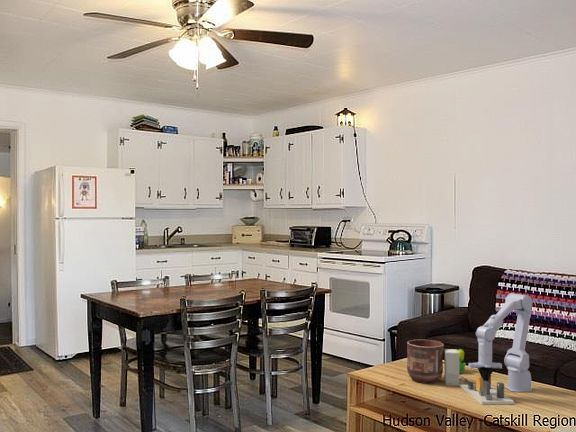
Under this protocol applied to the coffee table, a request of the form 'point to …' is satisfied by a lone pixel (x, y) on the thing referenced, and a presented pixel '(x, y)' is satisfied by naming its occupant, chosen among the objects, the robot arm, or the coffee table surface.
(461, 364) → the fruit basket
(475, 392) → the breaker panel
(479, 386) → the block
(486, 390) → the paddle
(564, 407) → the coffee table surface
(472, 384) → the paddle
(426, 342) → the pottery
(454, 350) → the skincare box
